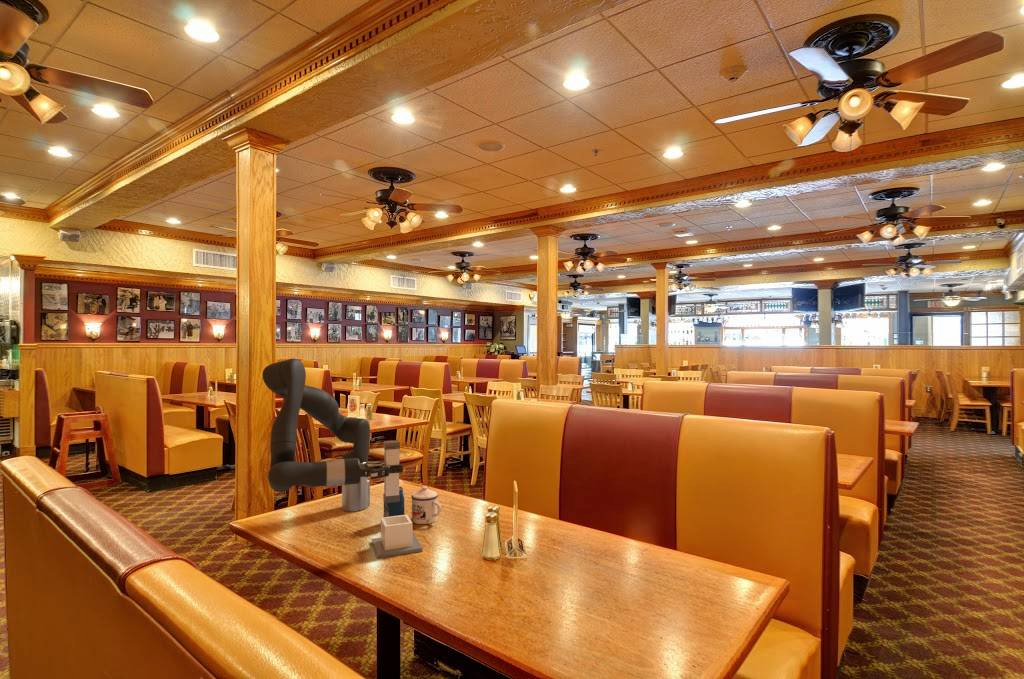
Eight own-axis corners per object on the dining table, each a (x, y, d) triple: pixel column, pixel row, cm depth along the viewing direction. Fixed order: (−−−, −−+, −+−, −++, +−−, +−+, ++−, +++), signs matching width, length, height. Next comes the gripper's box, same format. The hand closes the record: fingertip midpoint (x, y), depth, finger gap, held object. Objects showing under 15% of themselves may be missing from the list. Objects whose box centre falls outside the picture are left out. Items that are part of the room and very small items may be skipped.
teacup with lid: (405, 521, 187) (405, 487, 187) (424, 514, 195) (424, 481, 194) (431, 528, 180) (431, 493, 180) (449, 520, 188) (449, 487, 188)
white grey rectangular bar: (383, 500, 166) (383, 441, 165) (398, 498, 167) (398, 440, 167) (384, 503, 163) (385, 443, 163) (399, 501, 164) (400, 442, 164)
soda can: (406, 520, 188) (406, 485, 188) (400, 527, 181) (400, 491, 181) (387, 519, 189) (387, 485, 189) (380, 526, 182) (380, 491, 182)
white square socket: (371, 541, 169) (371, 516, 169) (413, 536, 174) (413, 511, 173) (377, 558, 157) (377, 530, 157) (422, 551, 162) (422, 524, 161)
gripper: (344, 464, 153) (406, 459, 159) (340, 454, 166) (397, 450, 173) (344, 491, 153) (405, 485, 160) (340, 478, 166) (397, 473, 173)
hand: (401, 467), depth 166 cm, fingers closed on white grey rectangular bar, 3 cm apart
